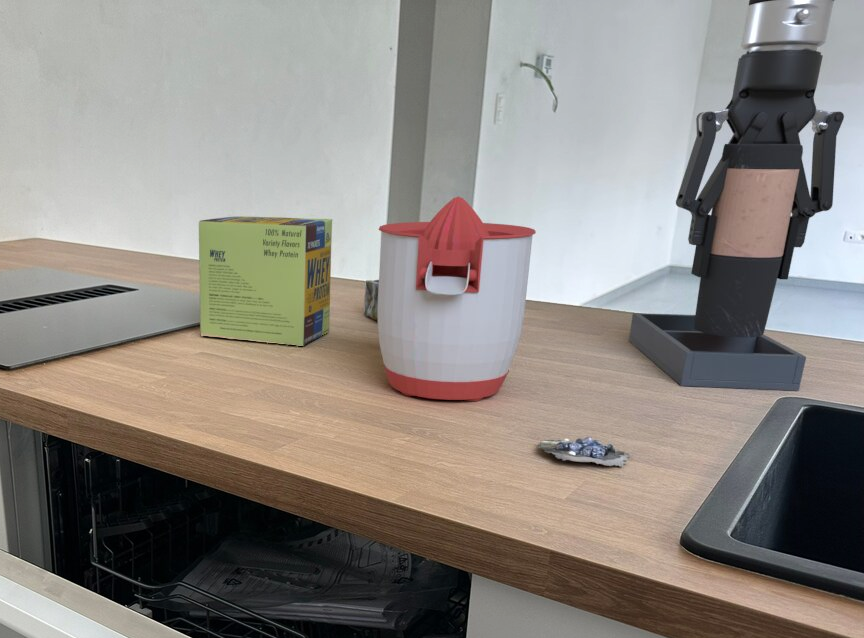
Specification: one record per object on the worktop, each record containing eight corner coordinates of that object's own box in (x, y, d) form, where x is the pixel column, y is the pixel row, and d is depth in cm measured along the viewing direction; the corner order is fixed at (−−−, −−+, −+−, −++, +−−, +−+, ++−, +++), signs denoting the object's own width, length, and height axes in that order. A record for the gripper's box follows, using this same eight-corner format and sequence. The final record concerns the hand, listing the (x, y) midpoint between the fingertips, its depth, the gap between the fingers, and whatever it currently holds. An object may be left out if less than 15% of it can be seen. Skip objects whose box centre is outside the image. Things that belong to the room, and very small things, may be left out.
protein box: (304, 347, 111) (307, 224, 106) (198, 337, 117) (196, 220, 112) (331, 332, 120) (334, 218, 115) (231, 323, 126) (230, 214, 121)
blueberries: (521, 448, 75) (523, 427, 74) (598, 439, 77) (600, 419, 76) (569, 475, 69) (572, 452, 68) (651, 464, 71) (655, 443, 70)
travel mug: (675, 326, 100) (706, 143, 93) (729, 322, 102) (763, 144, 95) (726, 339, 93) (763, 143, 86) (782, 336, 95) (823, 144, 88)
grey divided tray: (723, 344, 114) (728, 315, 113) (799, 391, 93) (806, 356, 91) (628, 340, 116) (632, 313, 115) (680, 386, 94) (686, 352, 93)
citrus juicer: (357, 407, 86) (366, 200, 79) (381, 366, 102) (390, 191, 95) (519, 420, 82) (542, 204, 76) (518, 376, 98) (537, 193, 91)
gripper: (686, 48, 86) (650, 278, 93) (911, 46, 83) (855, 284, 90) (664, 55, 93) (633, 269, 100) (871, 53, 90) (822, 274, 97)
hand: (738, 276), depth 95 cm, fingers closed on travel mug, 8 cm apart
